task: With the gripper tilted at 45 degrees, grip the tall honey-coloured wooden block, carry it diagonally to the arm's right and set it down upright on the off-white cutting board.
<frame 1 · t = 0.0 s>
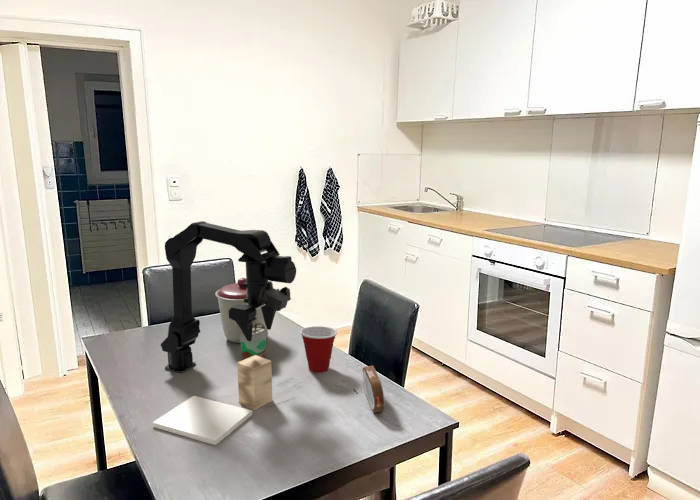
hand: (259, 335, 137), 15 cm above the table, tool pointing down, fingers open, 9 cm apart
wooden block: (255, 401, 131), on the table
tin: (372, 403, 131), on the table
canister: (245, 338, 174), on the table
plastic cup: (319, 369, 150), on the table
cutting board: (203, 420, 122), on the table
food container: (258, 360, 156), on the table
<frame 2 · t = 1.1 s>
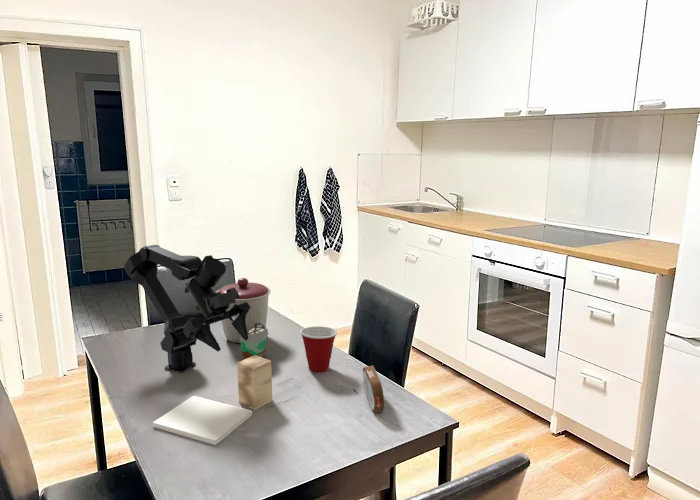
hand: (233, 345, 133), 13 cm above the table, tool tilted 45°, fingers open, 9 cm apart
nothing on the table moved.
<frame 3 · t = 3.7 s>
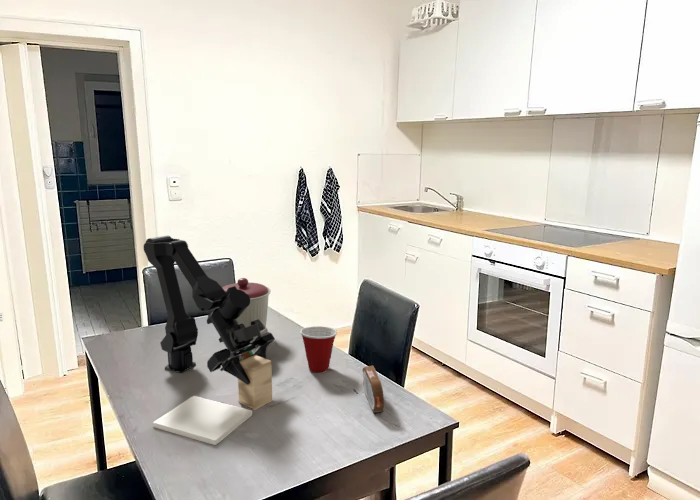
hand: (258, 379, 129), 7 cm above the table, tool tilted 45°, fingers closed on wooden block, 6 cm apart
wooden block: (255, 401, 131), on the table, touching gripper
everything else where it was.
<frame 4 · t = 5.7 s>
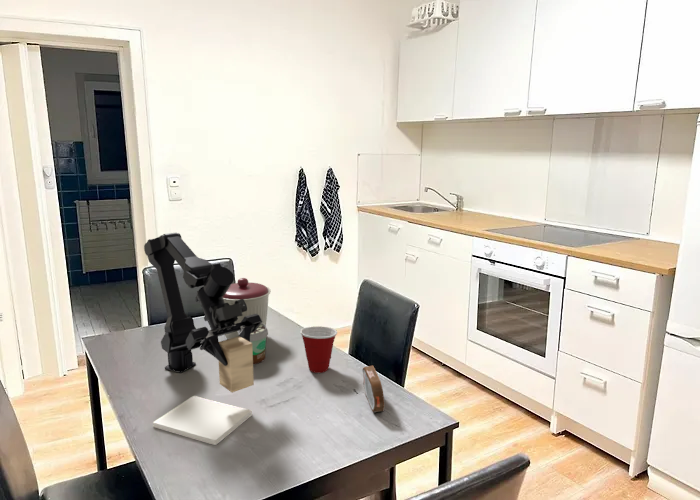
hand: (238, 361, 123), 13 cm above the table, tool tilted 45°, fingers closed on wooden block, 6 cm apart
wooden block: (236, 384, 126), point 7 cm above the table, touching gripper
everything else where it was.
when the fingers open (9 cm above the table, at t = 7.8 s): wooden block drops 1 cm, resting on cutting board.
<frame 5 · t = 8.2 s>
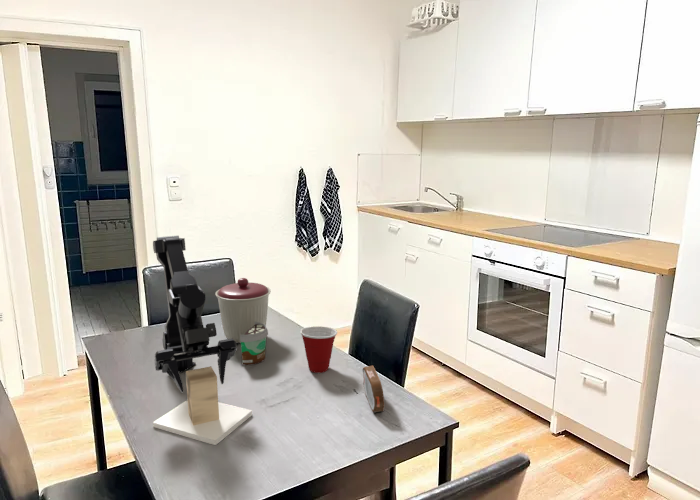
hand: (202, 387, 119), 9 cm above the table, tool tilted 45°, fingers open, 9 cm apart
wooden block: (203, 416, 122), point 1 cm above the table, touching cutting board
everything else where it was.
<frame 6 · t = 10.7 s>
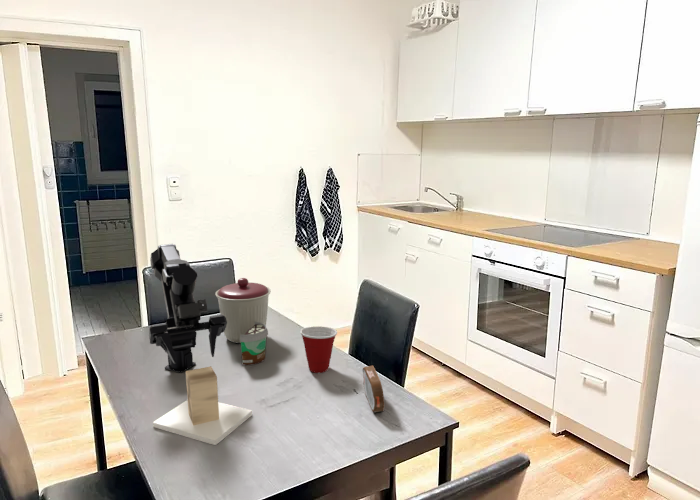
hand: (194, 359, 126), 13 cm above the table, tool tilted 45°, fingers open, 9 cm apart
nothing on the table moved.
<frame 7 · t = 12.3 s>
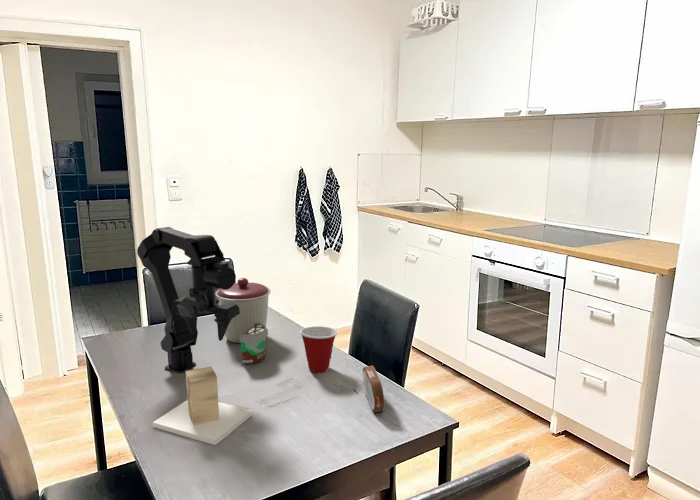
hand: (207, 337, 139), 13 cm above the table, tool pointing down, fingers open, 9 cm apart
nothing on the table moved.
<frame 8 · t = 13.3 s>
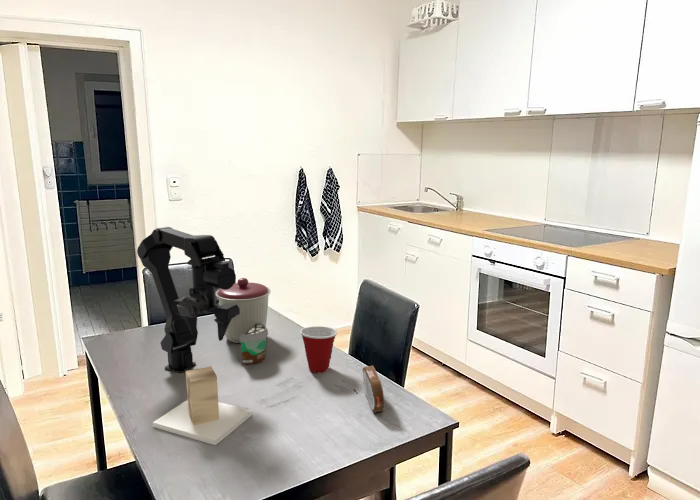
hand: (207, 337, 139), 13 cm above the table, tool pointing down, fingers open, 9 cm apart
nothing on the table moved.
at the end: wooden block inside the target area on the cutting board (0.0 cm from its centre), point 1.2 cm above the cutting board's base; wooden block tilted 0°; the gripper is holding nothing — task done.
